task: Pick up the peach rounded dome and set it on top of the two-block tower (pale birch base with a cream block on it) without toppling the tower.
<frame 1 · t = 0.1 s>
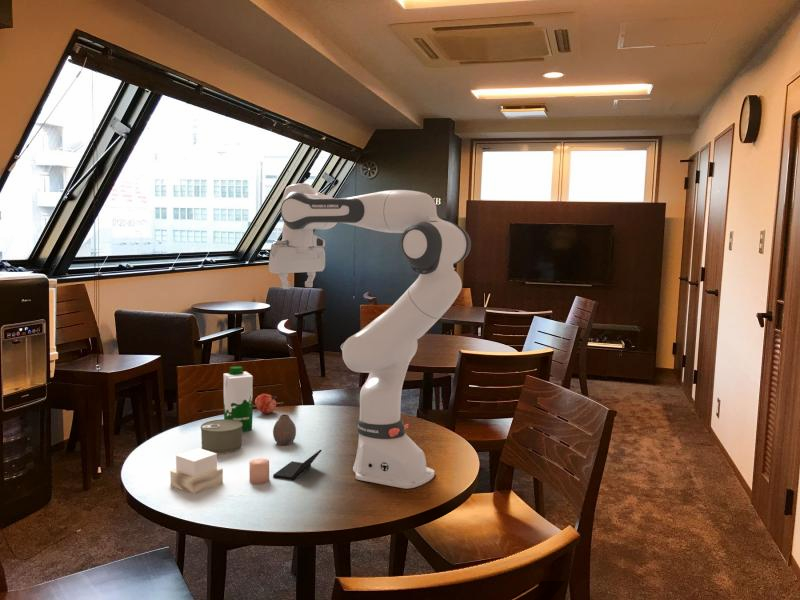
hand: (297, 287, 185), 48 cm above the table, tool pointing down, fingers open, 8 cm apart
vase: (284, 443, 193), on the table
tower middle: (196, 469, 160), point 4 cm above the table, touching tower base
milk carton: (238, 429, 206), on the table
tower base: (196, 485, 160), on the table, touching tower middle
peach rounded dome: (259, 480, 163), on the table
pomegranate: (264, 413, 224), on the table
can: (222, 448, 188), on the table
handheld gaming console: (297, 474, 169), on the table
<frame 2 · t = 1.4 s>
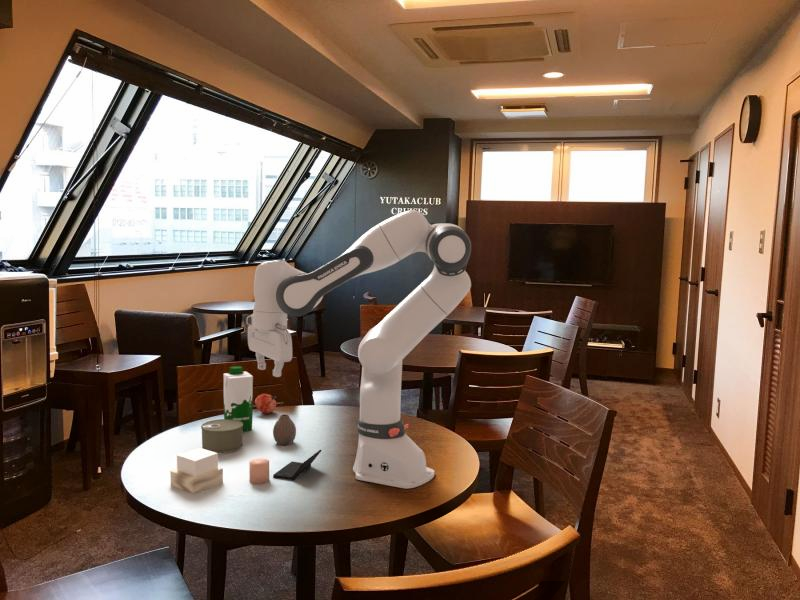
hand: (269, 372, 168), 27 cm above the table, tool pointing down, fingers open, 8 cm apart
tower middle: (197, 469, 160), point 4 cm above the table
tower base: (197, 484, 160), on the table
everything else where it was.
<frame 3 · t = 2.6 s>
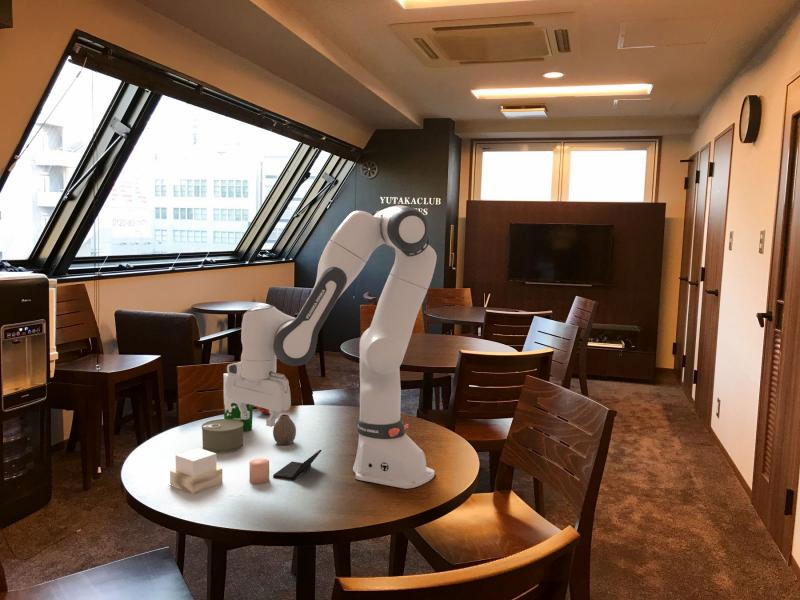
hand: (257, 422, 161), 15 cm above the table, tool pointing down, fingers open, 8 cm apart
nothing on the table moved.
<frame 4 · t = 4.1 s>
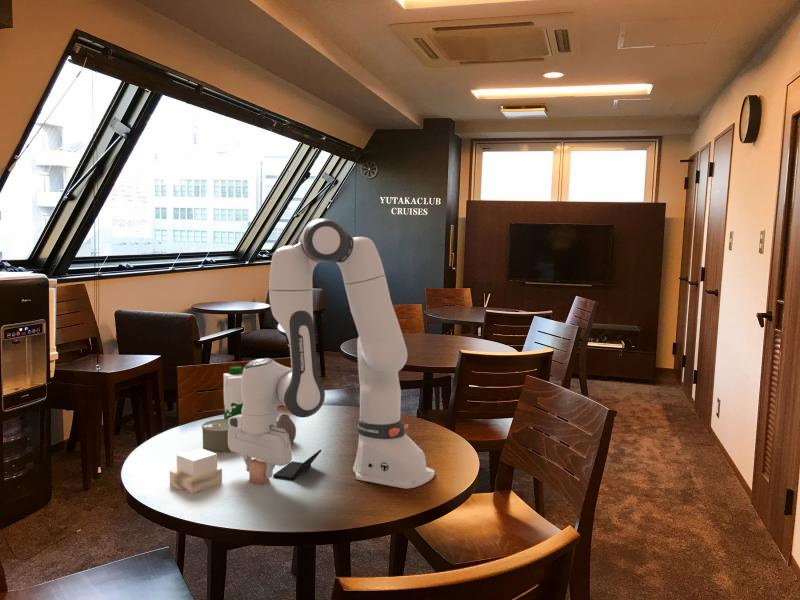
hand: (259, 474, 163), 2 cm above the table, tool pointing down, fingers closed on peach rounded dome, 5 cm apart
tower middle: (197, 469, 160), point 4 cm above the table, touching tower base
tower base: (196, 485, 160), on the table, touching tower middle
peach rounded dome: (259, 480, 163), on the table, touching gripper
everything else where it was.
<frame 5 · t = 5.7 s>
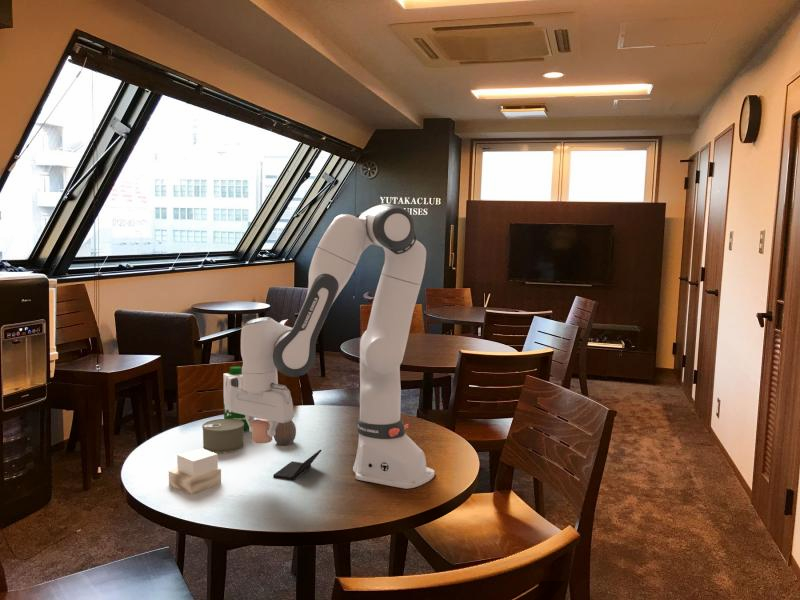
hand: (262, 433, 162), 12 cm above the table, tool pointing down, fingers closed on peach rounded dome, 5 cm apart
peach rounded dome: (262, 440, 162), point 11 cm above the table, touching gripper
everything else where it was.
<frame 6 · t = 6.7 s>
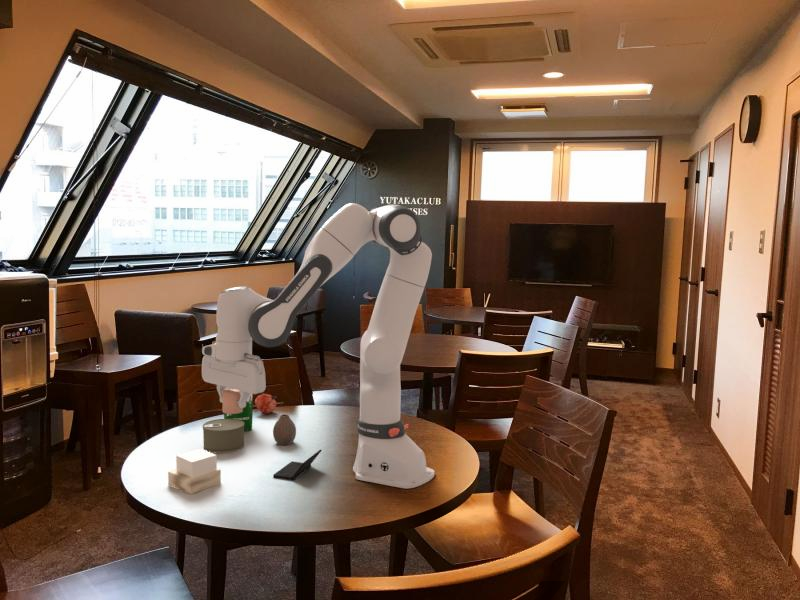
hand: (232, 404, 160), 20 cm above the table, tool pointing down, fingers closed on peach rounded dome, 5 cm apart
peach rounded dome: (232, 411, 160), point 19 cm above the table, touching gripper
everything else where it was.
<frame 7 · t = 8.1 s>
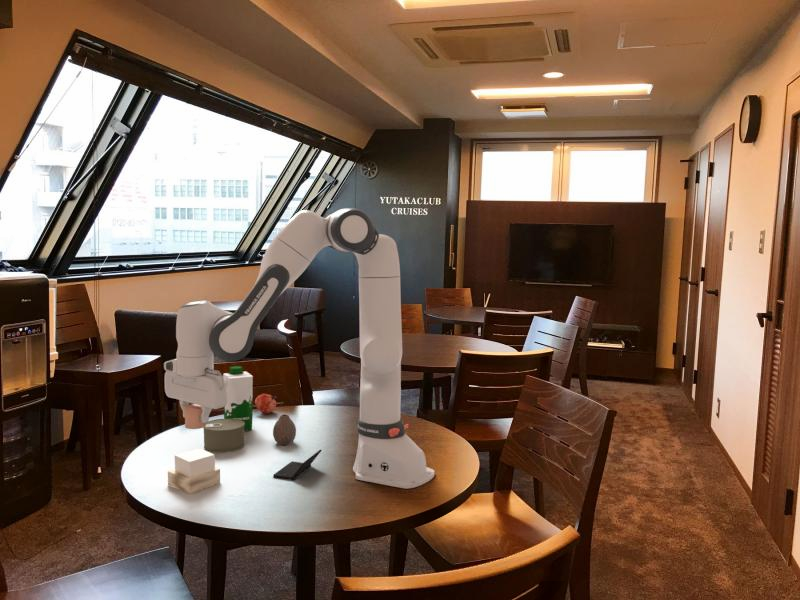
hand: (195, 419, 159), 17 cm above the table, tool pointing down, fingers closed on peach rounded dome, 5 cm apart
peach rounded dome: (195, 426, 159), point 15 cm above the table, touching gripper
everything else where it was.
when the fingers open (11 cm above the table, at t = 9.7 s): peach rounded dome drops 1 cm, resting on tower middle.
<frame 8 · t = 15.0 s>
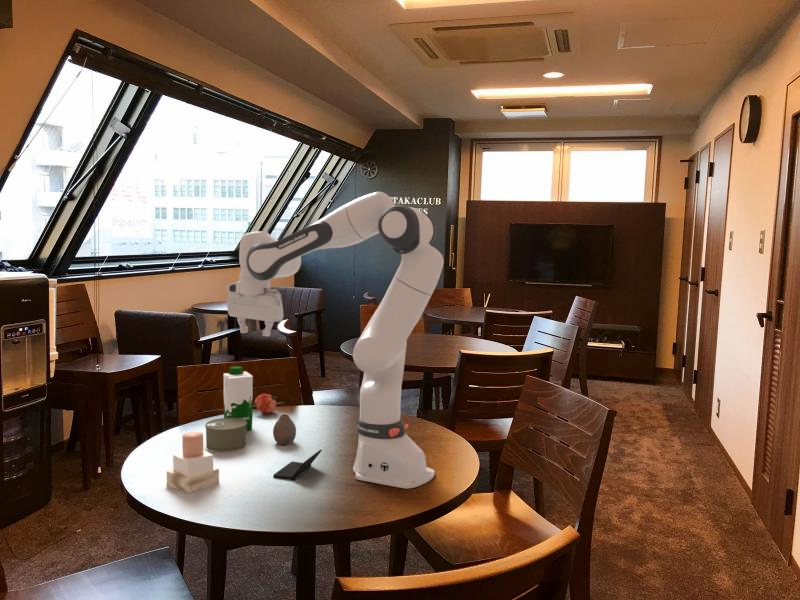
hand: (255, 334, 185), 34 cm above the table, tool pointing down, fingers open, 8 cm apart
tower middle: (193, 470, 160), point 4 cm above the table, touching peach rounded dome, tower base
peach rounded dome: (193, 454, 160), point 8 cm above the table, touching tower middle
at the end: peach rounded dome 0.4 cm off-centre on the tower base, point 8.0 cm above the tower base's base; tower middle moved 0.9 cm from its start; peach rounded dome tilted 0° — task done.
